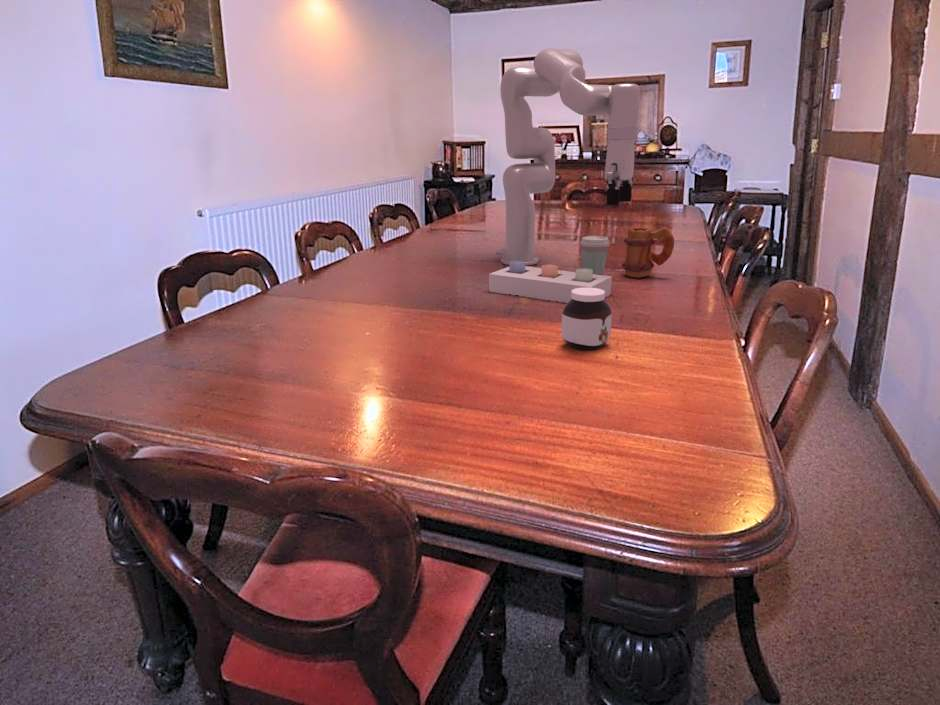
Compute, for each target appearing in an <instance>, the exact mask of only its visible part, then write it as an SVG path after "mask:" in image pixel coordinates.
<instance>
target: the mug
mask: <svg viewBox="0 0 940 705" xmlns="http://www.w3.org/2000/svg"><path fill="white" fill-rule="evenodd" d="M654 239H656V240H657V241H659V242H660V243H662V244H663V247H662V251H661V252H660V253H658V254H656V253H653V252H651V251H652V250H651V249H652V248H651V246H652V245H654V244H655V243H656V242H655V240H654ZM623 242H624V243H625V245H626V250H625V251H626V253H625V261H624V262H623V263H621V267H622V268H623V269H624V273H625V275H626V276H628V277H630V278H633V277H634V278H635V279H637V278H644V277H645V278H646V277H648V276H649V275H651V274H652V269H653V268H654V267H655V264H656V265H657V266H662V265H663V264H664V263H666V262H667V261H668V260H669V258H671V256H672V253H673V251H674V248H675V238H674V235H673V233H672V231H671V230H670V229H669V228H668V227H666V226H664V227H661V228H659V229H658V230H656V231H655V230H653V231H652V230H651V228H647V227H646V228H644V227H638V228H637V227H630V228H628V232H627V237H626V238H624V240H623ZM653 262H654V263H655V264H654V263H653Z"/></svg>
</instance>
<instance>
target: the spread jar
mask: <svg viewBox="0 0 940 705" xmlns="http://www.w3.org/2000/svg"><path fill="white" fill-rule="evenodd" d="M571 298H572V299H571V300H570V301H569V302H568V303H565V306H564V308H563V310H562V315H561V328H560V329H561V330H560V331H561V338H562V340H563V341H564V343H566V344H567V345H568V346H569V347H571V349H575V350H577V351H595V350H599V349H601V348H602V347H604V346H605V345H606V344H607V343H608V341H609V339H610V336H611V333H612V319H613V317H612V316H613V314H612V308H611V306H610V305H609V303H608V302H607V301H606V300H605V291H604V290H601V289H598V288H588V287H585V288H576V289H573V290H572V291H571Z"/></svg>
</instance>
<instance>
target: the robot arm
mask: <svg viewBox="0 0 940 705" xmlns="http://www.w3.org/2000/svg"><path fill="white" fill-rule="evenodd" d="M500 81H501V82H500V89H499V90H500V91H499V92H500V99H501V104H502V108H503V112H504V129H505V132H504V133H505V147H506V153H507V156H509V158H511V159H515V160H531V159H532V160H533V162H532V163H531V162H530V163H529V162H527V163H514V164H511V165H509V166H508V167H507V168H505V170H504V171H503V175H502V186H503V192H504V197H505V198H504V200H505V247H497V248H496V250H495V254H496V255H502V257H501V258H500V263H501V264H503V265H507V266H510V262H511V261H524V262H525V266H533V265H536V264H538V263H539V262H540V261H539V257H536V256H535V238H536V237H535V236H536V235H535V234H536V233H535V230H536V207H535V204H534V202H533V199H532V198H531V194H534V195H535V194H542V193H548V192H550V191H551V190H552V189H553V188H554V185H555V182H556V149H555V145H556V144H555V140H554V137H553V134H552V132H551V131H550V130H549V129H547V128H546V127H538V126H537V127H534V126H533V114H532V110H531V107H530V105H529V103H528V101H526V99H525V97H544V98H545V97H551V96H554V95H556V94H558V93H559V96H560V97H559V98H560V100H561V103H562V104H563V106H565V107H567V108H568V109H569V110H571V111H573V112H574V113H576V114H578V115H580V116H589V117H590V116H602V117H603V116H608V119H607V120H608V121H607V143H608V144H607V147H606V148H607V149H606V156H605V167H604V180H605V181H606V183H607V184H606V205H607V206H619V205H620V202H625V203H626V202H627V203H629V202H631V201H632V191H633V190H632V189H633V179H634V178H633V177H634V170H635V142H638V133H639V132H638V128H639V114H640V101H641V100H640V99H641V97H640V95H641V88H640V86H639V85H638V84H636V83H617V84H614V85H613V84H611V85H610V84H586V83H585V81H586V70H585V68H584V62H583V59H582V56H581V55H580V53H578V52H577V50H574V49H573V50H572V49H564V48H563V49H562V48H546V49H543V50H541V51H540V52H538V53H537V54H536V56H535V57H534V59H533V65H518V66H517V65H516V66H513V67H510V68H508V69H507V70H506V71H505V72H504V74H503V75H502V78H501V80H500Z"/></svg>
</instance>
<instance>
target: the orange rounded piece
mask: <svg viewBox="0 0 940 705" xmlns="http://www.w3.org/2000/svg"><path fill="white" fill-rule="evenodd" d="M541 268H542V276H541V277H548V278H556V277H558V270H559V265H557V264H553V263H552V264H550V263H549V264H548V263H547V264H542V265H541Z"/></svg>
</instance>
